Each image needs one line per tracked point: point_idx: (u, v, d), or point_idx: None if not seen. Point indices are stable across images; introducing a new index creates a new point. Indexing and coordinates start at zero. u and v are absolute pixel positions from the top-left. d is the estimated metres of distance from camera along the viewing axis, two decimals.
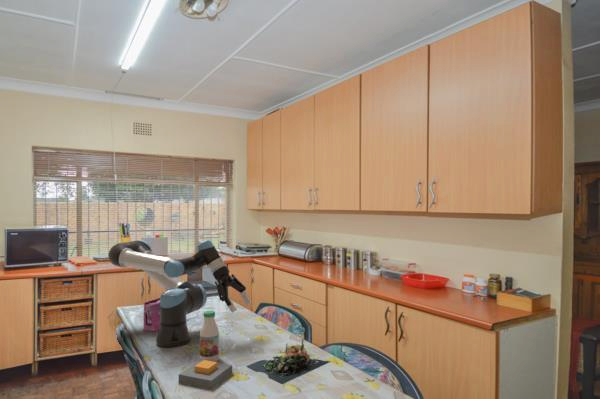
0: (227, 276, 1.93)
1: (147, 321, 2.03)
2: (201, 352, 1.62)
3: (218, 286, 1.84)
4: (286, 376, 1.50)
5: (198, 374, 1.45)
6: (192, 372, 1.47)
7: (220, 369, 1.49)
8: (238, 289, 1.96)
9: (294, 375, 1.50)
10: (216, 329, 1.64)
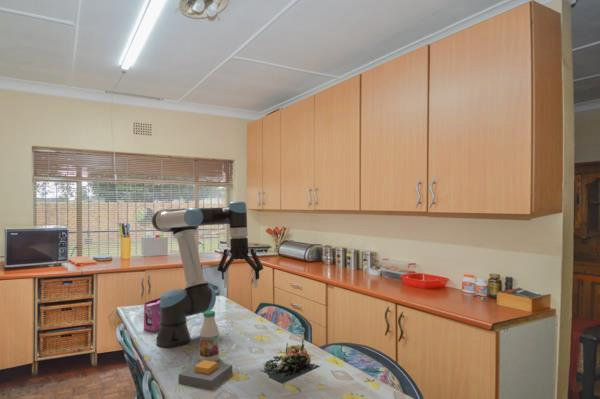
0: (241, 249, 1.71)
1: (147, 321, 2.03)
2: (201, 352, 1.62)
3: None
4: (286, 376, 1.50)
5: (198, 374, 1.45)
6: (192, 372, 1.47)
7: (220, 369, 1.49)
8: None
9: (294, 375, 1.51)
10: (216, 329, 1.64)
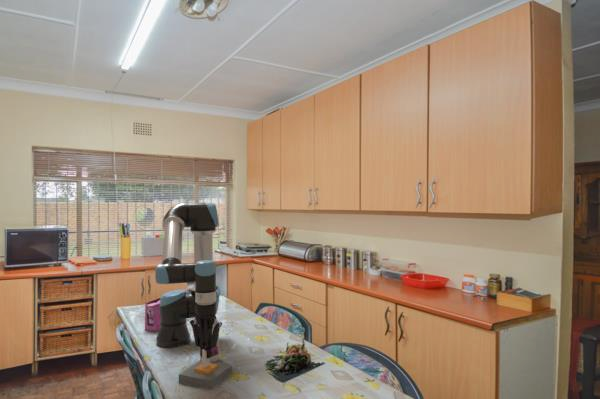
0: (209, 315, 1.47)
1: (149, 321, 2.03)
2: None
3: None
4: (287, 375, 1.50)
5: (198, 374, 1.45)
6: (192, 372, 1.47)
7: (220, 369, 1.49)
8: None
9: (295, 374, 1.51)
10: None
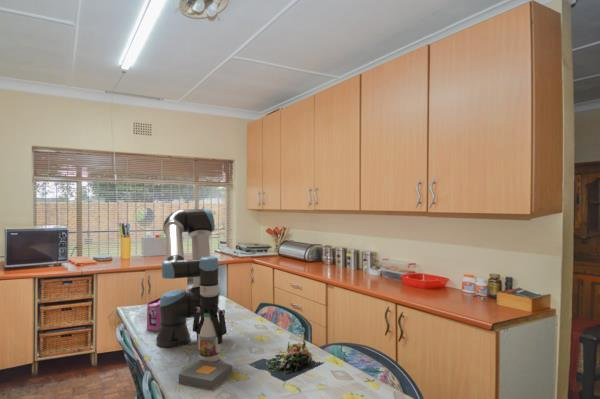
0: (211, 306, 1.63)
1: (151, 321, 2.03)
2: (201, 352, 1.62)
3: None
4: (288, 374, 1.52)
5: (198, 374, 1.45)
6: (192, 372, 1.47)
7: (220, 369, 1.49)
8: None
9: (296, 373, 1.52)
10: None
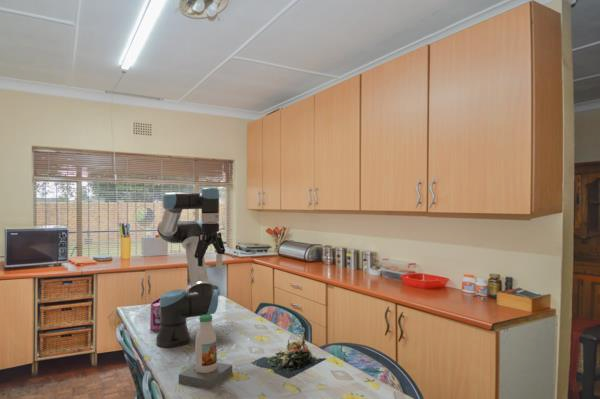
0: (214, 234, 1.77)
1: (155, 321, 2.03)
2: (211, 360, 1.46)
3: (200, 242, 1.70)
4: (291, 371, 1.54)
5: (198, 374, 1.45)
6: (192, 372, 1.47)
7: (220, 369, 1.49)
8: (217, 249, 1.82)
9: (299, 370, 1.55)
10: None
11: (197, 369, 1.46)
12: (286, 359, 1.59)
